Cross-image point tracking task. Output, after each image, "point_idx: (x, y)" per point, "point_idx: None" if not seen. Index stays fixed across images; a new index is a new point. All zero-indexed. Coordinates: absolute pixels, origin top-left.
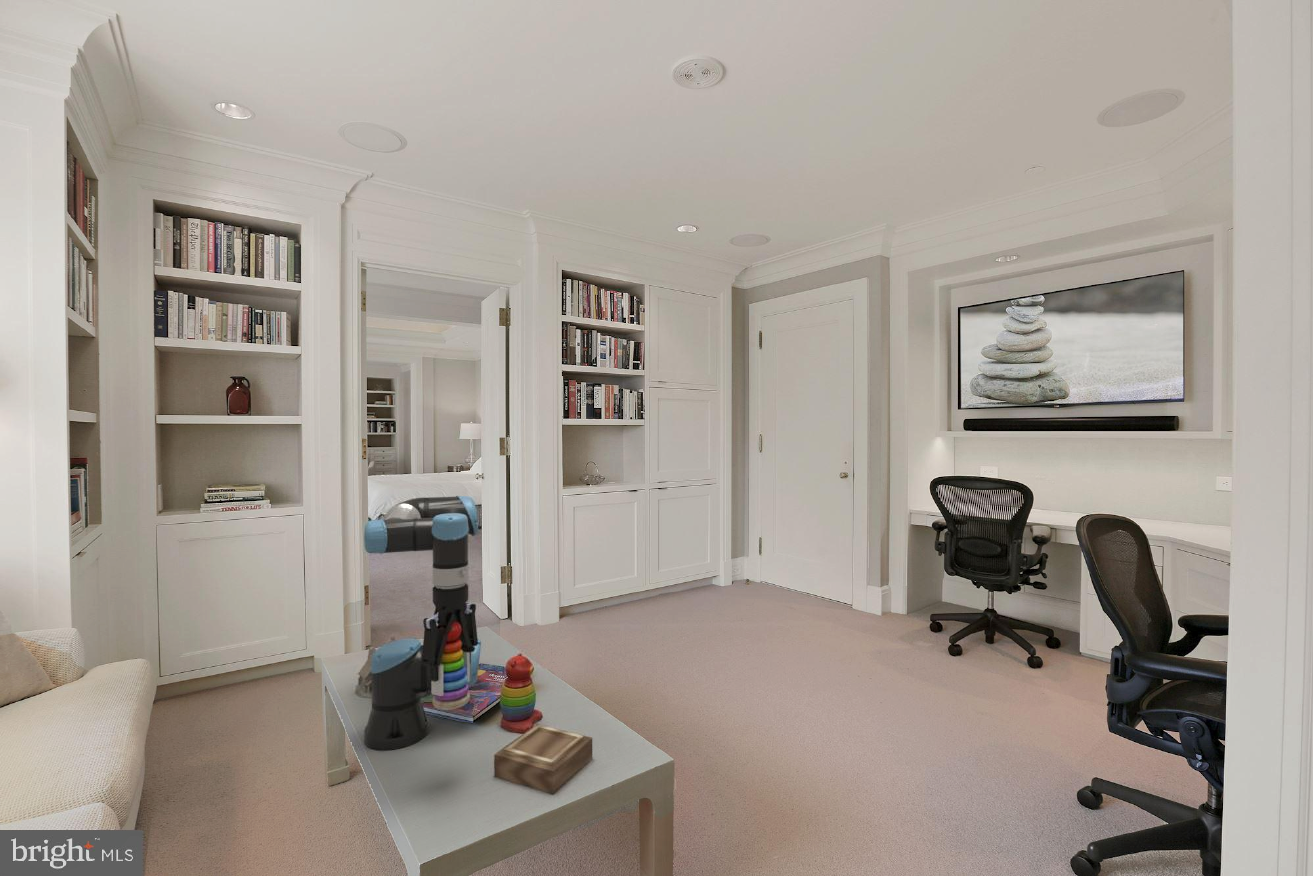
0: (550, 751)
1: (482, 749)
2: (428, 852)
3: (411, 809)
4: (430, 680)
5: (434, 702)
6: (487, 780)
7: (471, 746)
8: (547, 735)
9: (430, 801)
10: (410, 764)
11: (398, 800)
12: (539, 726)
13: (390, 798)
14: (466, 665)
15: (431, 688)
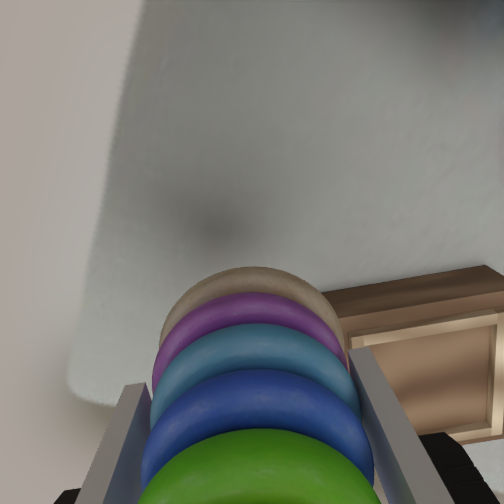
0: (411, 409)
1: (396, 168)
2: (80, 384)
3: (121, 252)
4: (62, 494)
5: (159, 346)
6: None
7: (394, 126)
8: (476, 353)
9: (166, 260)
10: (228, 60)
11: (117, 197)
12: (501, 321)
13: (107, 173)
14: (390, 502)
15: (115, 409)
